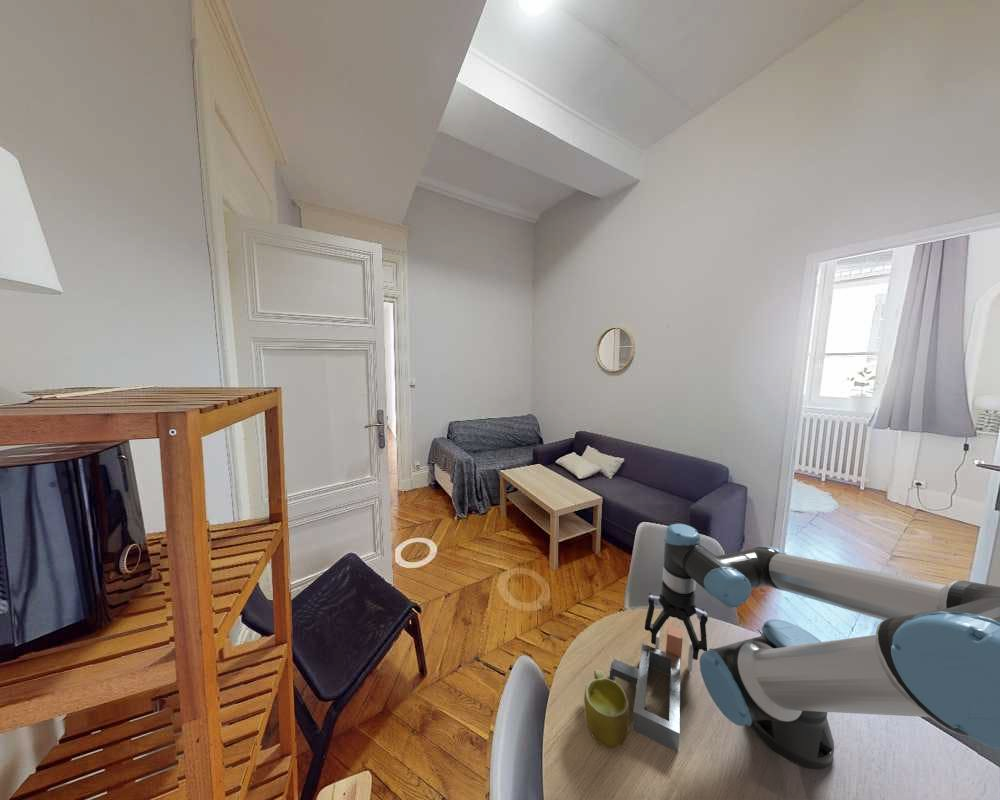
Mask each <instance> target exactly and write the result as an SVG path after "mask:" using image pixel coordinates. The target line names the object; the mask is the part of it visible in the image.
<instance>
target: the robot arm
mask: <svg viewBox="0 0 1000 800" xmlns="http://www.w3.org/2000/svg"><path fill="white" fill-rule="evenodd" d="M700 535H701V534H700V533H699V531H698V530H697V529H696V528H695V527H692V526H691V525H687V524H684V523H673V524H670V525H668V526H667V527H666V532H665V538H664V541H663V542H664V551H663V552H664V553H663V554H664V555H663V565H662V583H661V593H660V594H659V595H658V596H657V595H654V593H652V592H649V594H648V609H647V613H646V617H645V622H644V630H645V631H647V632H648V631H649V632H650V633H651V636H650V637H651V638H650V642H651V644H652V645H655V647H654V648H656V649H658V650H660V649H659V647H660V635H661V634H660V633H661V632H660V631H661V629H662V628H663V626H664V624H665V623H666V621H667V620H669V618H670V617H671V618H673V619H674V618H675V619H678V620H680V621H683V624H684V626H685V628H686V631H687V634H688V636H689V639H690V640H689V647H688V659H687V660H688V661H687V668H688V669H687V670H688V672H690V673H691V672H693V661H694V660H695V661H698V659H699V666H700V667H699V668H700V669H699V671H700V674H701V677H702V680H703V683H704V685H705V687H706V689H707V692H708V695H709V696H710V698H711V699H712V701H713V702H714V704H715V706H716V707H717V708H718V709H719V711H720V712H721V714H723V716H724V717H726V719H728V721H730V722H731V723H733V724H734V725H735V726H740V727H742V726H747V727H748V726H749V727H751V728H752V729H753V731H754V732H755V734H756V735H757V736H758V738H760V739H761V740H762V741H763V742H764V743H765V744H766V745H767V746H768V747H769V748H771V750H773V751H774V752H776V753H777V754H778V755H779V756H782V757H783V758H784V759H786V760H787V761H789V762H792V763H794V764H796V765H798V766H801V767H804V768H808V769H814V770H819V769H824V768H826V767H828V766H830V765H831V763H832V762H833V759H834V758H833V757H834V753H835V742H834V738H833V737H834V736H833V734H832V731H831V728H830V724H829V721H828V717H827V716H828V713H836V714H837V713H839V714H840V713H841V714H842V713H843V714H859V715H860V714H862V715H878V716H880V715H881V716H882V715H883V716H897V717H898V716H900V717H902V716H903V717H904V716H905V717H917V718H918V717H922V718H929V719H930V720H932V721H933V722H934V723H936V724H938V725H939V726H941V727H943V728H944V729H945V730H948V731H949V732H951V733H954V734H957V735H960V736H962V737H963V736H964V737H969V738H970V739H972V740H974V741H976V742H978V743H980V744H982V745H984V746H986V747H989V748H992V749H994V750H997V751H1000V586H997V585H991V584H984V583H979V582H973V581H968V580H961V579H958V580H954V581H951V582H950V583H949V584H944V583H939V582H934V581H929V580H928V581H927V580H923V579H918V578H913V577H908V576H902V575H896V574H893V573H891V574H890V573H886V572H881V571H880V572H879V571H877V570H876V571H875V570H871V569H864V568H858V567H854V566H849V565H843V564H838V563H833V562H827V561H822V560H818V559H813V558H812V559H811V558H807V557H801V556H797V555H792V554H791V555H790V554H787V553H786V552H784V551H782V550H781V549H780V548H778V547H775V546H770V545H769V546H756V547H753V548H749V549H744V550H739V551H735V552H730V553H725V554H721V555H716V554H714V553H712V552H711V551H710V550H709V549H707V548H705V547H704V546H703V545H702V544H701V536H700ZM697 584H698V585H699V586H701V587H702V588H703V589H704V590H705V591H706V592H707V593H708V594H709V595H710V596H711V597H714V598H715V599H716V600H717V601H719V602H720V603H722V605H724V606H726V607H729V608H738V607H741V606H742V604H743V603H746V602H747V601H748V600H749V598H750V596H751V594H752V590H753V589H756V588H762V587H770V588H772V589H777V590H780V591H784V592H787V593H791V594H794V595H797V596H800V597H803V598H808V599H811V600H814V601H818V602H819V603H820V602H821V603H824V604H827V605H830V606H835V607H838V608H841V609H845V610H847V611H850V612H855V613H856V614H857V613H858V614H862V615H865V616H868V617H871V618H875V619H878V620H881V622H880V623H879V624H878V625H877V628H876V630H875V634H873V635H872V634H871V635H864V636H859V637H849V638H842V639H841V638H840V639H834V640H826V641H821V640H820V639H819V638H818V637H817V636H815V635H813V633H811V632H809V631H807V630H805V629H803V628H802V627H799V626H798V625H796V624H793V623H792V622H791V623H790V622H789V621H785V620H780V619H768V620H766V621H765V622H764V623H763V625H762V626H761V635H760V636H757V637H752V638H749V639H744V640H741V641H738V642H733V643H731V644H727V645H723V646H720V647H716V648H709V649H708V642H707V639H708V638H707V629H706V628H707V626H706V624H707V622H708V610H706V609H699V608H697V606H696V604H695V600H696V599H695V598H696V588H697ZM658 604H660V605H661V607H662V610H661V611H660V613H659V615H658V616H657V618H656V619H655V620H654V622H653V623H652V620H653V616H654V611H655V607H656V606H658ZM694 615H696V618H697V619H698V621H699V629H700V640H699V639H698V637H697V633H696V631H695V628H694V625H693V623H692V619H691V617H693V616H694ZM700 650H702V651H703V652H702V653H701V655H700V656H699V653H700Z"/></svg>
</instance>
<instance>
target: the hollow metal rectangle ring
mask: <svg viewBox="0 0 1000 800" xmlns="http://www.w3.org/2000/svg"><path fill="white" fill-rule="evenodd" d="M650 669H652V670H655V671H657V672H660V673H661V674H664V675H667V676H669V694H668V695H669V696H668V697H669V699H668V717H667V718H668V720H667V719H665V718H663V717H661V716H659V715H657V714H655V713H652V712H650V711H648V710H646V709H645V708H646V702H647V701H646V699H647V692H648V691H647V690H648V680H649V670H650ZM616 678H618V679H621V680H623V681H625V682H628V683H629V684H632V685H634V686H636V689H635V697H634V705H633V714H632V730H631V731H634V732H635V733H637V734H639V735H641V736H643V737H646V738H648V739H649V740H651V741H653V742H655V743H657V744H659V745H661V746H663V747H666V748H667V749H669V750H671V751H673V752H676V753H679V745H680V734H681V732H680V731H681V730H680V727H681V726H680V721H681V717H680V715H681V713H680V712H681V711H680V710H681V708H680V707H681V665H680V658H679V657H677V656H674V655H671V654H669V653H666V651H663V650H661V649H659V650H658V649H656V648H655V647H652V646H650V645H647V644H645V643H642V644H641V651H640V659H639V668H637V667H634V666H633V665H629V664H628V663H625V662H623V661H620V660H619V659H615V658H614V659H613V661H611V664H610V667H609V679H610V680H612V681H614V682H615V679H616Z"/></svg>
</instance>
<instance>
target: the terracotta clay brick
mask: <svg viewBox="0 0 1000 800" xmlns="http://www.w3.org/2000/svg"><path fill="white" fill-rule="evenodd" d="M683 632H684V631H683V628H681V627H678V626H674V625H673V624H669V623H668V624H667V631H666V646H665V652H666V653H669V654H671V655H674V656H677V657H679V658H680V666H681V664H682V651H683V637H684V636H683Z"/></svg>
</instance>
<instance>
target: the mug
mask: <svg viewBox="0 0 1000 800" xmlns="http://www.w3.org/2000/svg"><path fill="white" fill-rule="evenodd" d="M593 671H594V672H593V676H594V677H593V679H592V680H591V681H589V682H588V683H587V684H586V686H585V689H584V698H583V699H584V700H583V701H584V708H585V715H586V716H585V717H586V722H587V727H588V730H589V731H590V734H591V735H592V737H593V739H595V741H596V742H597V743H599V744H600V745H602V746H604V747H605V748H609V749H610V748H611V749H616V748H618V747H620V746H622V745H624V744H625V742H626V740H627V738H628V730H629V728H628V725H629V724H628V723H629V709H630V708H629V700H628V697H627V695H626V692H625V691H624V688H622V686H621V685H620V684H618V683H617V682H616V681H615V680H614V681H612V680H610V678H605V676H604V672H603V671H602V670H601V669H594V670H593Z"/></svg>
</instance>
